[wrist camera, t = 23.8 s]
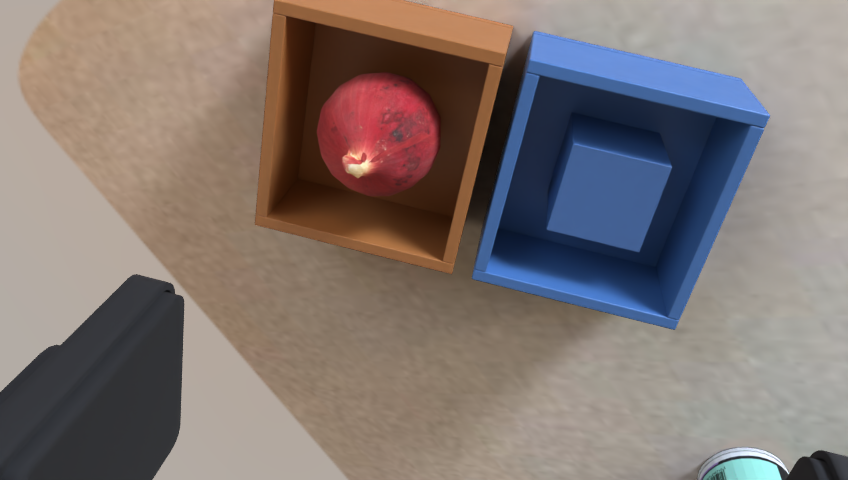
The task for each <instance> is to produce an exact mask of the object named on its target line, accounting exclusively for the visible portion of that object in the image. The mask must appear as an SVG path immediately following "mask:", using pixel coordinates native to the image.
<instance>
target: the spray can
mask: <svg viewBox="0 0 848 480" xmlns="http://www.w3.org/2000/svg"><path fill="white" fill-rule="evenodd" d="M788 475H789V473H788V471H787V469H786V467H785V465H784V464H783V463H782V462H781V461H780V460H779V459H778V458H777V457H775V456H774V455H772V454H770V453H768V452H766V451H763V450H759V449H754V448H734V449H729V450H726V451H722V452H720V453H718V454H716V455H714V456H712V457H711V458H710V459H708V460H707V461H706V462H705V463H704V464H703V465H702V467H701V469H700V471H699V473H698V477H697V480H786V478H787V477H788Z"/></svg>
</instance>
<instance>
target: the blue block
mask: <svg viewBox="0 0 848 480" xmlns="http://www.w3.org/2000/svg"><path fill="white" fill-rule="evenodd" d="M671 169H672V165H671V163H670V160H669V157H668V154H667V151H666V148H665V146H664V143H663V140H662V137H661V134H660V133H657V132H653V131H648V130H644V129H640V128H636V127H631V126H627V125H623V124H619V123H615V122H610V121H606V120H602V119H598V118H594V117H589V116H585V115H581V114H577V113H571V116H570V120H569V123H568V126H567V130H566V133H565V136H564V139H563V143H562V146H561V149H560V153H559V156H558V159H557V163H556V166H555V169H554V172H553V176H552V179H551V182H550V186H549V189H548V199H547V226H546V229H547V230H550V231H554V232H558V233H562V234H566V235H570V236H574V237H578V238H582V239H586V240H590V241H594V242H598V243H602V244H606V245H610V246H615V247H619V248H623V249H627V250H631V251H635V252H639V251H640V249H641V246H642V244H643V241H644V239H645V236H646V234H647V231H648V228H649V226H650V223H651V221H652V218H653V216H654V213H655V210H656V208H657V205H658V203H659V200H660V198H661V195H662V193H663V190H664V187H665V185H666V182H667V180H668V177H669V175H670V172H671Z"/></svg>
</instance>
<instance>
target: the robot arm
mask: <svg viewBox="0 0 848 480" xmlns="http://www.w3.org/2000/svg"><path fill="white" fill-rule="evenodd" d="M183 324H184V299H183V297H182V296H180V295H176V294H175V289H174V287H173V285H172V284H171V283H168V282H164V281H161V280H156V279H153V278H149V277H145V276H141V275H137V274H136V275H132V276H131V277H129V278H128V279H127V280H126V281H125V282H124V283H123V284H122V285H121V286H120V287H119V288H118V289H117V290H116V291H115V292H114V293H113V294H112V295H111V296H110V297H109V298H108V299H107V300H106V301H105V302H104V303H103V304H102V305H101V306H100V307H99V308H98V309H97V310H96V311H95V312H94V313H93V314H92V315H91V316H90V317H89V318H88V319H87V320H86V321H85V322H84V323H83V324H82V325H81V326H80V327H79V328H78V329H77V330H76V331H75V332H74V333H73V334H72V335H71V336H70V337H69V338H68V339H67V340H66V341H65V342H63V344H61V345H54V346H51V347H48V348H47V349H46V350H44V351H43V352H42V353H40V354H39V355H38V356H37V357H36V359H34V360H33V361H32V362H31V363H30V364H29V365H28V366H27V367H26V368H25V369H24V370H23V371H22V372H21V373H20V374H19V375H18V376H17V377H16V378H15V379H14V380H13V381H11V382H10V383H9V385H7V386H6V387H5V388H4V389H3V390H2V391H1V392H0V480H152V479H153V478H154V476H155V475H156V473H157V471H158V470H159V468H160V467H161V465H162V464H163V462H164V461H165V459H166V458H167V456H168V455H169V453H170V451H171V450H172V448H173V446H174V444H175V442H176V440H177V437H178V434H179V429H180V416H181V387H182V356H183V355H182V354H183V326H184V325H183ZM786 480H848V457H846V456H842V455H838V454H834V453H830V452H827V451H816V452H815V453H813V454H812V455H811V456H810V458H809V457H802V458H800V459H799V460H798V461H797V462H796V464H795V465H794V467H793V469H792V470H791V472H790V474H789V475H788V477H787V478H786Z"/></svg>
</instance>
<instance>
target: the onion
mask: <svg viewBox="0 0 848 480" xmlns="http://www.w3.org/2000/svg"><path fill="white" fill-rule="evenodd" d="M317 136H318V142H319V147H320V152H321V156H322V158H323V160H324V162H325V163H326V165H327V167H328V168H329V170H330V172H331V174H332V175H333V176H334V177H336V178H337V179H338V180H339V181H340V182H342V183H343V184H344V185H345V186H347V187H348V188H349V189H352V190H355V191H357V192H360V193H363V194H365V195H368V196H392V195H394V194H397V193H399V192H401V191H404V190H406V189H409V188H411V187H413V186H414V185H415V184H416V183H417V182H418V181H419V180H421V179H422V178H423V177H424V176H425V175H426V174H427V173H428V172H429V171H430V170H431V168H432V166H433V164H434V161H435V159H436V157H437V154H438V152H439V150H440V141H441V117H440V115H439V113H438V111H437V109H436V106H435V104H434V102H433V100H432V98H431V96H430V94H429V93H427V92H426V91H425V90H424V89H422V88H421V87H420V86H419V85H418V84H416V83H415V82H414V81H413V80H412V79H410V78H407V77H404V76H400V75H396V74H392V73H389V72H382V73H368V74H361V75H358V76H356V77H355V78H353V79H351V80H349V81H347V82H345V83H344V84H342V85H340V86H339V87H338V88H337V89H336V90H335V92H334V93H333V94H332V95H331V96H330V98H329V99H328V100H327V101H326V102H325V104H324V105H323V107H322V109H321V113H320V118H319V123H318V127H317Z"/></svg>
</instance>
